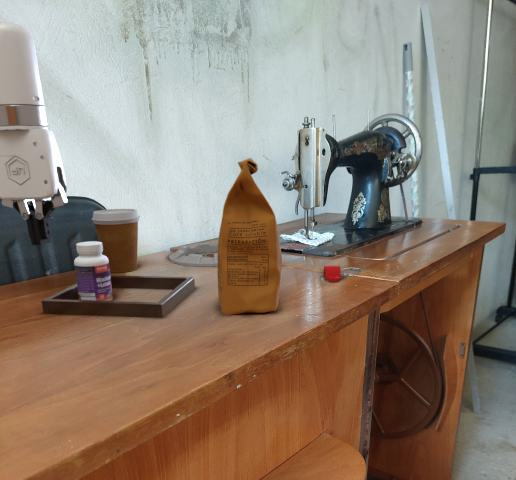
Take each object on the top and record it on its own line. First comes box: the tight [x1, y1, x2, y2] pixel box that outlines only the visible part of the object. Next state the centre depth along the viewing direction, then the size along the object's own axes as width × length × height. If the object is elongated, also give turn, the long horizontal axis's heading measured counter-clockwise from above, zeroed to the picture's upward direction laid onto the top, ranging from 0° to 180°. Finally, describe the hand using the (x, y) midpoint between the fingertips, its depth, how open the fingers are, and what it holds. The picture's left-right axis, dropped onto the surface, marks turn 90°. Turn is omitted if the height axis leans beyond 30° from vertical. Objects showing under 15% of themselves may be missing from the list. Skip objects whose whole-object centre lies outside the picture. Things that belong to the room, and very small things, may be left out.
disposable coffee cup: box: [91, 208, 141, 274], centre depth 107 cm, size 10×10×12 cm
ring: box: [169, 242, 218, 267], centre depth 119 cm, size 19×19×2 cm
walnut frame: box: [41, 274, 196, 319], centre depth 85 cm, size 19×17×2 cm
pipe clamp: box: [323, 265, 342, 283], centre depth 99 cm, size 8×3×2 cm, turn 179°
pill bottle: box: [73, 240, 114, 301], centre depth 84 cm, size 5×5×10 cm
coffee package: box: [217, 157, 283, 316], centre depth 78 cm, size 10×12×22 cm
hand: (41, 243), depth 84 cm, fingers closed
